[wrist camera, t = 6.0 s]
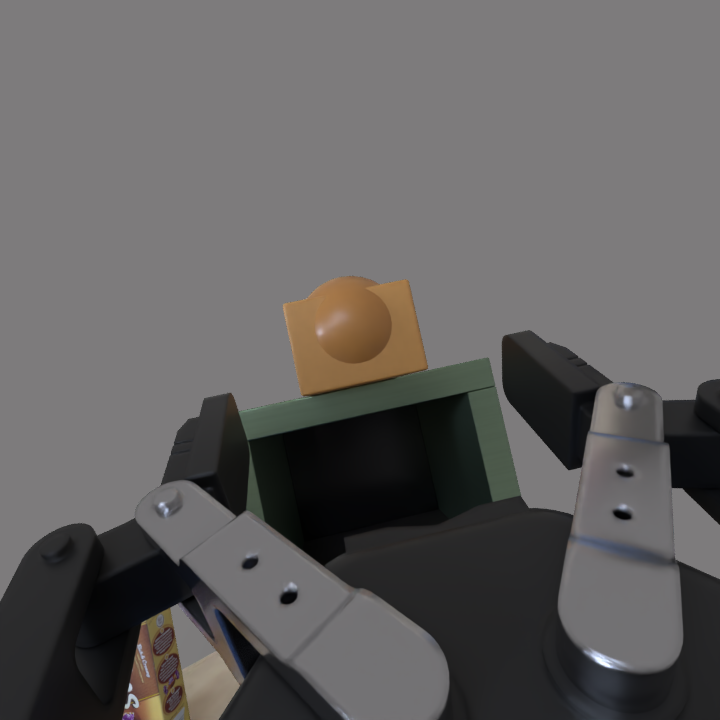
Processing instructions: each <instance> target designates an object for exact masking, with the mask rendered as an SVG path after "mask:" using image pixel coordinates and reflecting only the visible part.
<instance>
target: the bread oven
mask: <svg viewBox="0 0 720 720" xmlns="http://www.w3.org/2000/svg"><path fill="white" fill-rule="evenodd" d="M494 386H495V382H494V378H493V374H492V370H491V365H490V361H489V358H483V359H479V360H474V361H470V362H465V363H460V364H456V365H451V366H446V367H442V368H437V369H433V370H428V371H424V372H419V373H414V374H409V375H405V376H400V377H396V378H391V379H386V380H382V381H377V382H373V383H368V384H363V385H359V386H354V387H349V388H345V389H340V390H336V391H331V392H326V393H322V394H317V395H313V396H308V397H303V398H299V399H294V400H289V401H285V402H280V403H276V404H271V405H266V406H262V407H257V408H252V409H248V410H244V411H239V415H240V418H241V421H242V424H243V427H244V431H245V434H246V437H247V441H248V445H249V452H250V464H249V479H248V493H247V507H246V510H247V511H250V512H252V513H253V514H254V515H256V516H257V517H258V518H260V519H261V520H262V521H264V522H265V523H266V524H268V525H269V526H270V527H272V528H273V529H274V530H276V531H277V532H278V533H280V534H281V535H282V536H284V537H285V538H286V539H288V540H289V541H290V542H292V543H293V544H294V545H296V546H297V547H298V548H300V549H301V550H302V551H304V552H305V553H306V554H308V555H309V556H310V557H312V558H313V559H314V560H316V561H317V562H318V563H320V564H321V565H322V566H325V565H326V564H327V563H328V562H330V561H331V560H333V559H335V558H336V557H338V556H339V555H341V554H343V553H345V552H346V548H345V542H344V538H345V537H349V536H353V535H357V534H361V533H366V532H370V531H374V530H378V529H382V528H386V527H406V526H433V525H439V524H441V523H443V522H445V521H447V520H449V519H451V518H453V517H456V516H458V515H460V514H462V513H464V512H466V511H468V510H470V509H472V508H474V507H476V506H478V505H482V504H486V503H491V502H495V501H499V500H503V499H507V498H511V497H516V496H521V493H520V489H519V485H518V480H517V476H516V472H515V468H514V463H513V459H512V455H511V451H510V446H509V442H508V437H507V433H506V429H505V425H504V421H503V416H502V412H501V407H500V403H499V399H498V394H497V390H496V387H494Z"/></svg>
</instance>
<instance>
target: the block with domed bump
mask: <svg viewBox="0 0 720 720" xmlns="http://www.w3.org/2000/svg"><path fill="white" fill-rule="evenodd" d="M283 310H284V315H285V320H286V324H287V329H288V334H289V339H290V344H291V348H292V353H293V358H294V363H295V368H296V372H297V377H298V382H299V387H300V391H301V395H302V396H313V395H317V394H322V393H326V392H331V391H336V390H340V389H345V388H349V387H354V386H359V385H363V384H368V383H373V382H377V381H382V380H386V379H391V378H395V377H400V376H404V375H408V374H412V373H416V372H419V371H423V370H426V369H428V365H427V360H426V356H425V351H424V347H423V343H422V338H421V334H420V329H419V325H418V320H417V316H416V311H415V307H414V303H413V298H412V294H411V289H410V285H409V281H408V280H406V279H405V280H400V281H395V282H390V283H385V284H378V283H376V282H374V281H372V280H370V279H366V278H363V277H355V276H346V277H339V278H335V279H332V280H329V281H328V282H326V283H324V284H322V285H320V286H319V287H318V288H317V289H316V290H314V291H313V292H312V293H311V294H310V296H309V297H308V298H307V299H305V300H300V301H295V302H290V303H285V304H283Z"/></svg>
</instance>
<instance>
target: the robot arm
mask: <svg viewBox="0 0 720 720" xmlns="http://www.w3.org/2000/svg"><path fill="white" fill-rule="evenodd" d="M502 382H503V389H504V392H505V395H506V397H507V399H508V401H509V402H510V404H511V405H512V406H513V407H514V408H515V409H516V410H517V412H518V413H519V414H520V415H521V416H522V417H523V419H524V420H525V421H526V422H527V423H528V424H529V425H530V426H531V428H532V429H533V430H534V431H535V432H536V433H537V435H538V436H539V437H540V438H541V439H542V440H543V442H544V443H545V444H546V445H547V446H548V447H549V448H550V450H552V452H553V453H554V454H555V455H556V456H557V458H558V459H559V460H560V461H561V462H562V463H563V465H564V466H565V467H566V468H567V469H568V470H572V469H577V468H581V467H582V470H581V476H580V481H579V487H578V493H577V499H576V505H575V511H574V515H571V514H568V513H564V512H560V511H556V510H549V509H539V508H528V506H527V505H526V503H525V502H524V500H523V499H522V497H521V496H516V497H511V498H507V499H503V500H499V501H495V502H491V503H486V504H482V505H478V506H476V507H474V508H472V509H470V510H468V511H466V512H464V513H462V514H460V515H458V516H456V517H453V518H451V519H449V520H447V521H445V522H443V523H441V524H439V525H433V526H406V527H386V528H382V529H378V530H374V531H370V532H366V533H361V534H357V535H353V536H349V537H345V538H344V542H345V548H346V552H345V553H343V554H341V555H339V556H338V557H336V558H335V559H333V560H331V561H330V562H328V563H327V564H326V565H325V566H322V565H321V564H320V563H318V562H317V561H316V560H314V559H313V558H312V557H310V556H309V555H308V554H306V553H305V552H304V551H302V550H301V549H300V548H298V547H297V546H296V545H294V544H293V543H292V542H290V541H289V540H288V539H286V538H285V537H284V536H282V535H281V534H280V533H278V532H277V531H276V530H274V529H273V528H272V527H270V526H269V525H268V524H266V523H265V522H264V521H262V520H261V519H260V518H258V517H257V516H256V515H254V514H253V513H252V512H250V511H247V510H246V507H247V493H248V479H249V464H250V452H249V445H248V441H247V437H246V434H245V431H244V427H243V424H242V421H241V418H240V415H239V412H238V409H237V406H236V402H235V400H234V397H233V395H232V394H231V393H227V394H222V395H217V396H213V397H208V398H204V401H203V404H202V408H201V412H200V416H199V417H196V418H192V419H188V420H187V422H186V423H185V424H184V425H183V426H182V427H181V428H180V429H179V430H178V432H177V435H176V439H175V442H174V446H173V448H172V451H171V456H170V457H169V461H168V464H167V467H166V470H165V473H164V477H163V480H162V483H161V486H159V487H157V488H156V489H154V490H152V491H151V492H149V493H148V494H147V495H146V496H145V497H144V498H143V499H142V500H141V501H140V503H139V504H138V505H137V507H136V510H135V518H134V519H132V520H130V521H129V522H127V523H125V524H122V525H120V526H118V527H116V528H113V529H111V530H109V531H107V532H104V533H102V534H100V535H98V536H97V535H96V533H95V531H94V529H93V528H92V527H91V526H90V525H87V524H82V523H81V524H79V523H78V524H71V525H67V526H64V527H62V528H59V529H57V530H55V531H53V532H51V533H49V534H48V535H46V536H44V537H43V538H42V539H40V540H39V541H38V542H37V543H35V544H34V545H33V546H32V547H31V548H30V549H29V550H28V552H27V553H26V554H25V556H24V557H23V559H22V561H21V563H20V564H19V566H18V568H17V570H16V572H15V574H14V576H13V578H12V580H11V582H10V584H9V586H8V588H7V590H6V592H5V594H4V596H3V598H2V599H1V601H0V720H122V718H123V713H124V708H125V703H126V698H127V694H128V689H129V684H130V679H131V674H132V669H133V664H134V659H135V654H136V649H137V644H138V639H139V634H140V629H141V624H142V622H144V621H146V620H148V619H150V618H152V617H153V616H155V615H157V614H159V613H161V612H163V611H165V610H167V609H169V608H170V607H172V606H174V605H176V604H178V605H179V607H180V608H181V609H182V610H183V611H184V613H185V614H186V615H187V616H188V617H189V619H190V620H191V621H192V622H193V623H194V624H195V626H196V627H197V628H198V629H199V630H200V632H201V633H202V634H203V635H204V636H205V638H206V639H207V640H208V641H209V642H210V644H211V645H212V646H213V647H214V648H215V649H216V651H217V652H218V653H219V654H220V656H221V657H222V659H223V660H224V662H225V663H226V665H227V666H228V668H229V670H230V671H231V673H232V674H233V676H234V678H235V679H236V680H237V682H238V683H239V685H240V687H239V689H238V690H237V692H236V693H235V695H234V696H233V698H232V700H231V701H230V703H229V704H228V706H227V707H226V709H225V711H224V712H223V714H222V715H221V717H220V718H219V720H720V579H718V578H716V577H713V576H711V575H709V574H706V573H704V572H702V571H700V570H697V569H695V568H693V567H691V566H688V565H686V564H684V563H682V562H679V561H677V560H675V549H674V530H673V509H672V489H671V488H683V489H684V490H685V492H686V493H687V494H688V495H689V496H691V498H693V499H694V500H695V501H696V502H697V503H698V504H699V505H700V506H701V507H702V508H703V509H704V510H705V511H706V512H707V513H708V514H709V515H710V516H711V517H712V518H713V519H714V520H715V521H716V522H718V524H719V525H720V379H716V380H710V381H706V382H704V383H702V384H701V385H700V386H699V387H698V390H697V395H696V400H669V401H663V400H662V398H661V396H660V395H659V394H658V393H657V392H656V391H654V390H652V389H650V388H648V387H646V386H642V385H639V384H635V383H625V382H621V383H620V382H619V383H613V382H612V381H610V380H609V379H608V378H606V377H605V376H604V375H603V374H601V373H600V372H599V371H597V370H596V369H594V368H593V367H592V366H590V365H587V363H586V362H585V361H584V360H582V359H581V358H578V356H577V355H576V354H574V353H573V352H572V351H570V350H569V349H567V348H565V347H563V346H560V345H557V344H554V343H551V342H550V343H546V342H545V341H544V340H542V339H541V338H539V336H537V335H536V334H535V333H533V332H532V331H530V330H528V331H524V332H519V333H514V334H509V335H505V336H504V337H503V340H502Z"/></svg>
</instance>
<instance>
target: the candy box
mask: <svg viewBox="0 0 720 720" xmlns="http://www.w3.org/2000/svg"><path fill="white" fill-rule="evenodd" d="M122 720H190V716H189V710H188V704H187V699H186V693H185V688H184V682H183V676H182V670H181V665H180V660H179V654H178V649H177V644H176V638H175V632H174V627H173V621H172V616H171V610H170V608H169V609H167V610H165V611H163V612H161V613H159V614H157V615H155V616H153V617H152V618H150V619H148V620H146V621H144V622H142V624H141V629H140V634H139V639H138V644H137V649H136V654H135V659H134V664H133V669H132V674H131V679H130V684H129V689H128V694H127V698H126V703H125V708H124V713H123V718H122Z"/></svg>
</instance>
